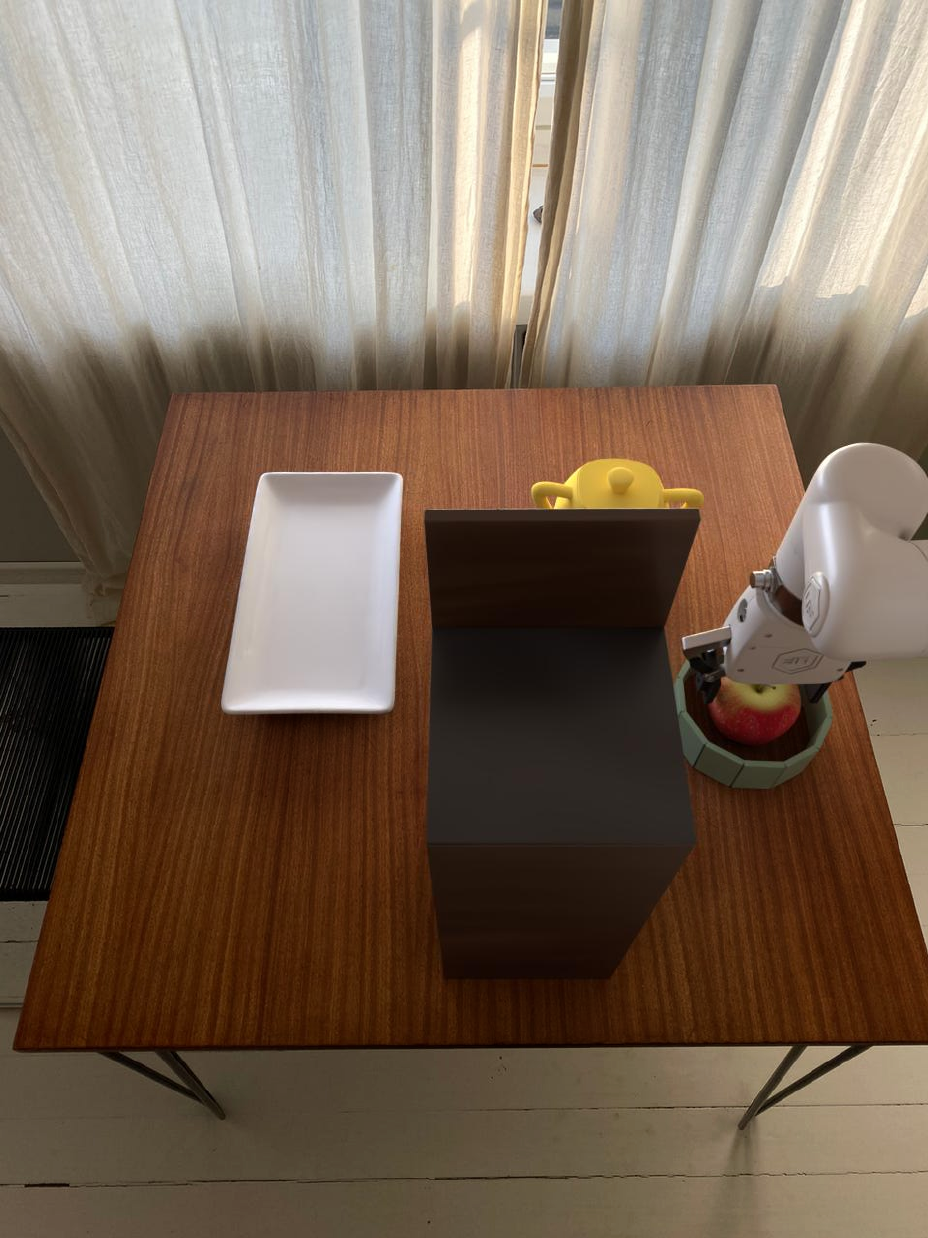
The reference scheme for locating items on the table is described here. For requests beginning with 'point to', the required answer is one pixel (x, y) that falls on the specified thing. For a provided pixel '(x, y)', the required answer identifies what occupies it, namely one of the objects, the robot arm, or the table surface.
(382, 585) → the tray
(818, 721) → the faceted green band
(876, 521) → the robot arm
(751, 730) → the apple
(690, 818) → the stand
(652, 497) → the yellow two-handled pot
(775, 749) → the table surface
